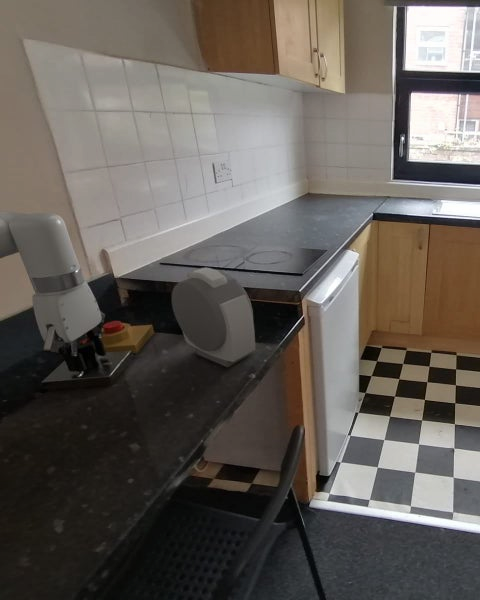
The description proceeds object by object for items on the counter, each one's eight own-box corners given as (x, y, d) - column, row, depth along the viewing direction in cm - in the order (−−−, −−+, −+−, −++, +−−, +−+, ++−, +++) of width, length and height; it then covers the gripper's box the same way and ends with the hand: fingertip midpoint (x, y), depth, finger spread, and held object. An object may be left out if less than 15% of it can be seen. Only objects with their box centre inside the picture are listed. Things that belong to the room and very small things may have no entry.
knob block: (78, 357, 89) (72, 342, 88) (101, 336, 98) (96, 321, 97) (137, 353, 91) (132, 337, 89) (154, 332, 100) (150, 318, 98)
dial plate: (44, 390, 78) (40, 381, 78) (73, 362, 87) (70, 354, 86) (112, 384, 80) (109, 375, 79) (133, 358, 89) (131, 349, 88)
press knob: (101, 335, 91) (99, 328, 91) (109, 327, 94) (107, 321, 94) (119, 334, 92) (117, 327, 91) (126, 326, 95) (124, 320, 94)
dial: (92, 370, 81) (84, 347, 79) (72, 370, 81) (63, 347, 79) (105, 359, 85) (97, 337, 83) (86, 359, 85) (78, 337, 83)
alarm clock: (264, 357, 90) (251, 272, 81) (232, 376, 83) (214, 285, 75) (212, 337, 98) (195, 258, 90) (179, 353, 91) (158, 268, 83)
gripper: (72, 265, 83) (99, 342, 91) (-4, 298, 68) (36, 387, 75) (108, 265, 83) (132, 342, 91) (40, 299, 68) (75, 388, 75)
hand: (88, 362), depth 83 cm, fingers open, 5 cm apart
